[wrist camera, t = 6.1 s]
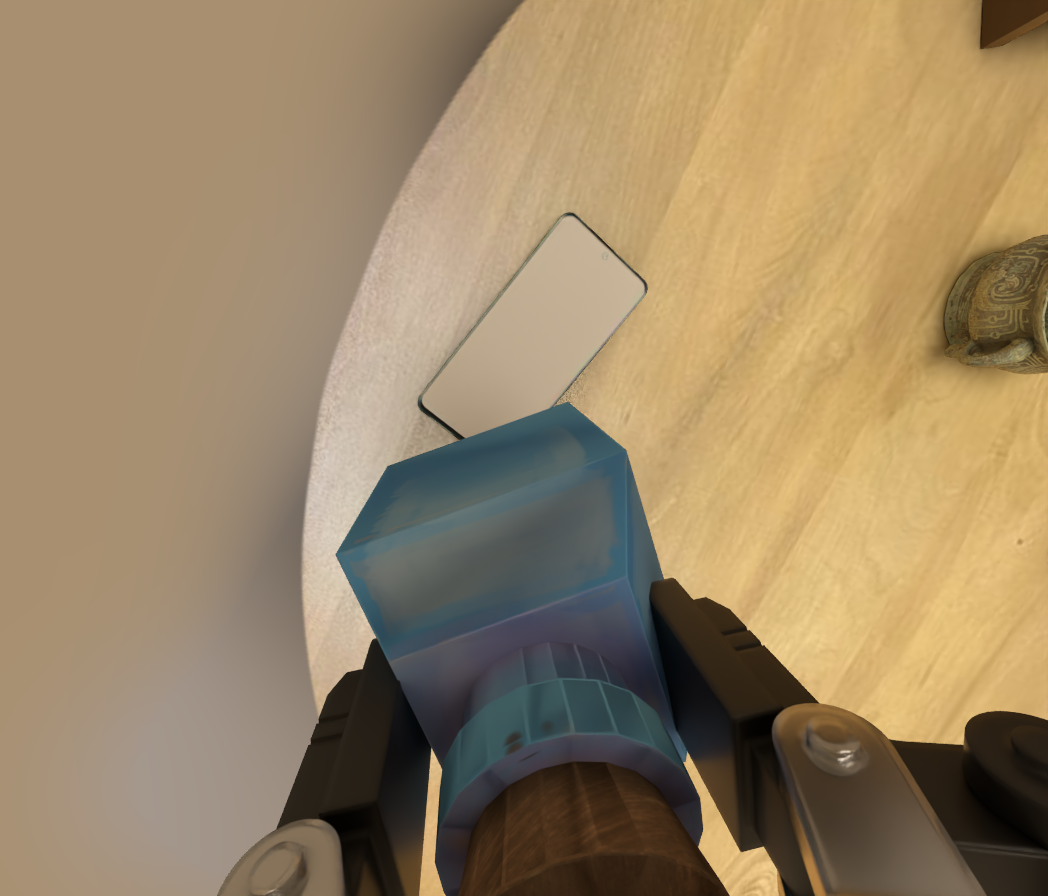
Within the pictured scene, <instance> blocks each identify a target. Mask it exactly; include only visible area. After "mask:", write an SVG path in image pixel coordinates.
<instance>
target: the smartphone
mask: <svg viewBox="0 0 1048 896" xmlns="http://www.w3.org/2000/svg"><path fill="white" fill-rule="evenodd" d="M647 289H648V287H647V283H646V282H645V280H644V279H643V278H642V277H641V276H640V275H638V274H637V273H636V272H635V271H634V270H633V269H632V268H631V267H630V266H629V265H628V264H627V263H626V262H625V261H624V260H623V259H622V258H621V257H620V256H619V255H618V254H617V253H616V252H615V251H613V250H612V249H611V248H610V247H609V246H608V245H607V244H606V243H605V242H604V241H603V240H602V239H601V238H600V237H599V236H598V235H597V234H596V233H595V232H594V231H593V230H592V229H591V228H590V227H588V226H587V225H586V224H585V223H584V222H583V221H582V220H581V219H580V218H579V217H578V216H577V215H576V214H574V213H565V214H564V215H562V216H561V218H560V219H559V220H558V221H557V223H556V224H555V225H554V226H553V228H552V229H551V230H550V232H549V233H548V234H547V235H546V237H545V238H544V239H543V240H542V242H541V243H540V244H539V245H538V247H537V248H536V249H535V251H534V252H533V253H532V254H531V256H530V257H529V258H528V259H527V261H526V262H525V263H524V265H523V266H522V267H521V268H520V270H519V271H518V272H517V273H516V275H515V276H514V277H513V278H512V280H511V281H510V282H509V284H508V285H507V286H506V287H505V289H504V290H503V291H502V292H501V294H500V295H499V296H498V297H497V299H496V300H495V301H494V303H493V304H492V305H491V306H490V308H489V309H488V310H487V311H486V313H485V314H484V315H483V316H482V318H481V319H480V320H479V322H478V323H477V324H476V325H475V327H474V328H473V329H472V330H471V332H470V333H469V334H468V336H467V337H466V338H465V339H464V341H463V342H462V343H461V344H460V346H459V347H458V348H457V349H456V351H455V352H454V353H453V355H452V356H451V357H450V358H449V360H448V361H447V362H446V363H445V365H444V366H443V367H442V368H441V370H440V371H439V372H438V374H437V375H436V376H435V377H434V379H433V380H432V381H431V382H430V384H429V385H428V386H427V387H426V389H425V390H424V391H423V393H422V394H421V395H420V396H419V399H418V406H419V408H420V410H421V411H422V412H424V413H425V414H426V415H428V416H429V417H430V418H432V419H433V420H434V421H435V422H437V423H438V424H439V425H441V426H442V427H443V428H445V429H446V430H447V431H449V432H450V433H451V434H452V435H454V436H455V437H456V438H458V439H459V440H462V439H465V438H468V437H471V436H473V435H476V434H479V433H482V432H485V431H487V430H490V429H493V428H496V427H499V426H501V425H504V424H507V423H510V422H513V421H515V420H518V419H521V418H524V417H527V416H529V415H532V414H535V413H538V412H541V411H543V410H546V409H549V408H552V407H553V406H554V405H555V404H556V403H557V401H558V400H559V399H560V398H561V397H562V395H563V394H564V393H565V392H566V391H567V389H568V388H569V387H570V386H571V385H572V383H573V382H574V381H575V380H576V379H577V377H578V376H579V375H580V374H581V372H582V371H583V370H584V369H585V368H586V366H587V365H588V364H589V363H590V362H591V360H592V359H593V358H594V357H595V356H596V354H597V353H598V352H599V351H600V350H601V348H602V347H603V346H604V345H605V343H606V342H607V341H608V340H609V339H610V337H611V336H612V335H613V334H614V333H615V331H616V330H617V329H618V328H619V327H620V325H621V324H622V323H623V322H624V321H625V319H626V318H627V317H628V316H629V315H630V313H631V312H632V311H633V310H634V308H635V307H636V306H637V305H638V304H639V302H640V301H641V300H642V299H643V298H644V296H645V295H646V293H647Z"/></svg>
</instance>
